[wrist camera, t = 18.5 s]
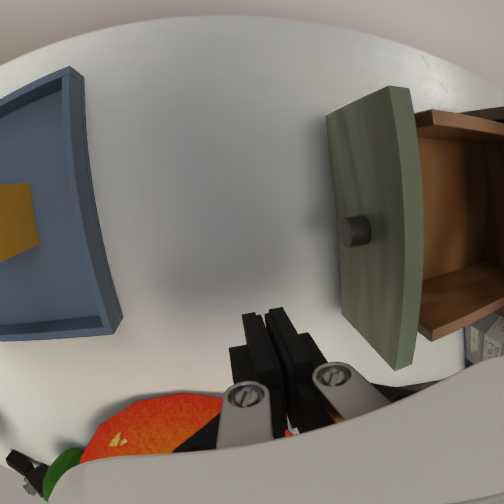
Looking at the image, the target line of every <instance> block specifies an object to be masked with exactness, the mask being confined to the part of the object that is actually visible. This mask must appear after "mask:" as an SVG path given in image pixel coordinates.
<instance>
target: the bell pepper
mask: <svg viewBox="0 0 504 504" xmlns="http://www.w3.org/2000/svg"><path fill="white" fill-rule="evenodd" d="M83 453H84V451H82V450H80V449H76V448H71V449H69V450H67V451H65V452H63V453H62V454H61V455H60V456H59V457H58V458H57V459H56V460H55V461H54V462H53V463H52V465H51V466H50V467H49V468H48V470H47V472H46V475H45V477H44V479H43V495H44V500H46V501H47V502H48V499H49V497H50V495H51V493H52V491H53V489H54V487H55V485H56V483H57V482H58V480H59V479H60V478H61V476H62V475H63V474H64V473H65V472H66V471H68V470H69V469H71V468H72V467H75V466H77V465H79V464H80V459H81V456H82V455H83Z"/></svg>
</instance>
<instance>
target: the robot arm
mask: <svg viewBox="0 0 504 504" xmlns="http://www.w3.org/2000/svg"><path fill="white" fill-rule="evenodd" d="M242 320H243V326H244V331H245V337H246V343H247V345H242V346H237V347H231V348H229V353H230V361H231V368H232V375H233V382H234V385H232V386H231V387H229V388H228V389H227V390H226V391H225V392H224V395H223V399H222V406H221V412H220V413H219V414H217V415H216V416H215V417H214V418H213V419H212V420H210V421H209V422H208V423H207V424H205V425H204V426H203V427H202V428H201V429H199V430H198V431H197V432H196V433H194V434H193V435H192V436H191V437H189V438H188V439H187V440H186V441H184V442H183V443H182V444H180V445H179V446H178V447H177V448H176V449H175V450H174V451H173V452H172V453H166V454H150V455H129V456H116V457H109V458H102V459H97V460H93V461H89V462H85V463H82V464H79V465H77V466H75V467H72V468H71V469H69V470H68V471H66V472H65V473H64V474H63V475H62V476H61V478H60V479H59V480H58V482H57V483H56V485H55V487H54V489H53V491H52V493H51V495H50V497H49V499H48V502H47V504H504V356H499V357H494V358H490V359H487V360H485V361H482V362H479V363H477V364H474V365H472V366H470V367H468V368H466V369H464V370H462V371H460V372H458V373H456V374H454V375H452V376H450V377H448V378H446V379H444V380H442V381H440V382H438V383H436V384H434V385H432V386H430V387H428V388H426V389H424V390H421V391H419V392H417V391H413V390H408V389H402V388H396V387H390V386H384V385H379V384H373V383H370V382H368V381H367V380H366V379H365V378H364V377H363V376H362V375H361V374H360V373H359V372H357V371H356V370H355V369H354V368H353V367H352V366H350V365H349V364H346V363H343V362H329V363H328V362H327V360H326V359H325V357H324V356H323V354H322V353H321V351H320V349H319V348H318V346H317V345H316V343H315V342H314V340H313V339H312V337H311V336H310V334H309V333H308V332H306V333H302V334H298V333H297V331H296V330H295V328H294V326H293V324H292V323H291V321H290V319H289V318H288V316H287V314H286V312H285V311H284V309H283V307H280V308H274V309H269V313H267V314H265V323H266V327H265V324H264V322H263V319H262V316H261V315H256V314H255V312H253V313H248V314H242ZM286 413H287V414H286ZM287 416H288V419H289V421H290V424H291V427H292V428H296V427H297V428H298V431H299V434H296V435H292V436H287V437H286V435H285V430H288V424H287Z"/></svg>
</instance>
